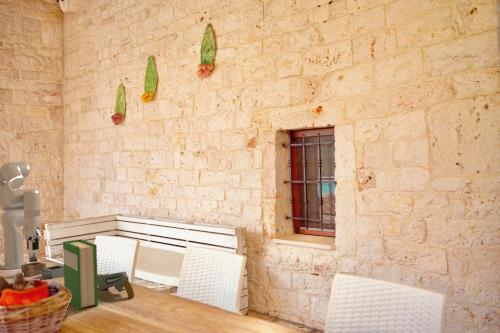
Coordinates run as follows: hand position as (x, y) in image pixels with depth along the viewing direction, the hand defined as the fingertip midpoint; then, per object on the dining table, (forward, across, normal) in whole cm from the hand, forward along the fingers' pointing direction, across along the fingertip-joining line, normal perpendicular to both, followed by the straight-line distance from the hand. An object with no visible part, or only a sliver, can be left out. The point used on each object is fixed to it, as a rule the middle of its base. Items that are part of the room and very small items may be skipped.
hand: (33, 248), depth 220 cm
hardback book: (+13, +64, -18) cm, 68 cm away
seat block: (+13, +14, +3) cm, 19 cm away
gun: (+13, +65, -2) cm, 67 cm away
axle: (+6, 0, 0) cm, 6 cm away
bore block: (+13, 0, 0) cm, 13 cm away
